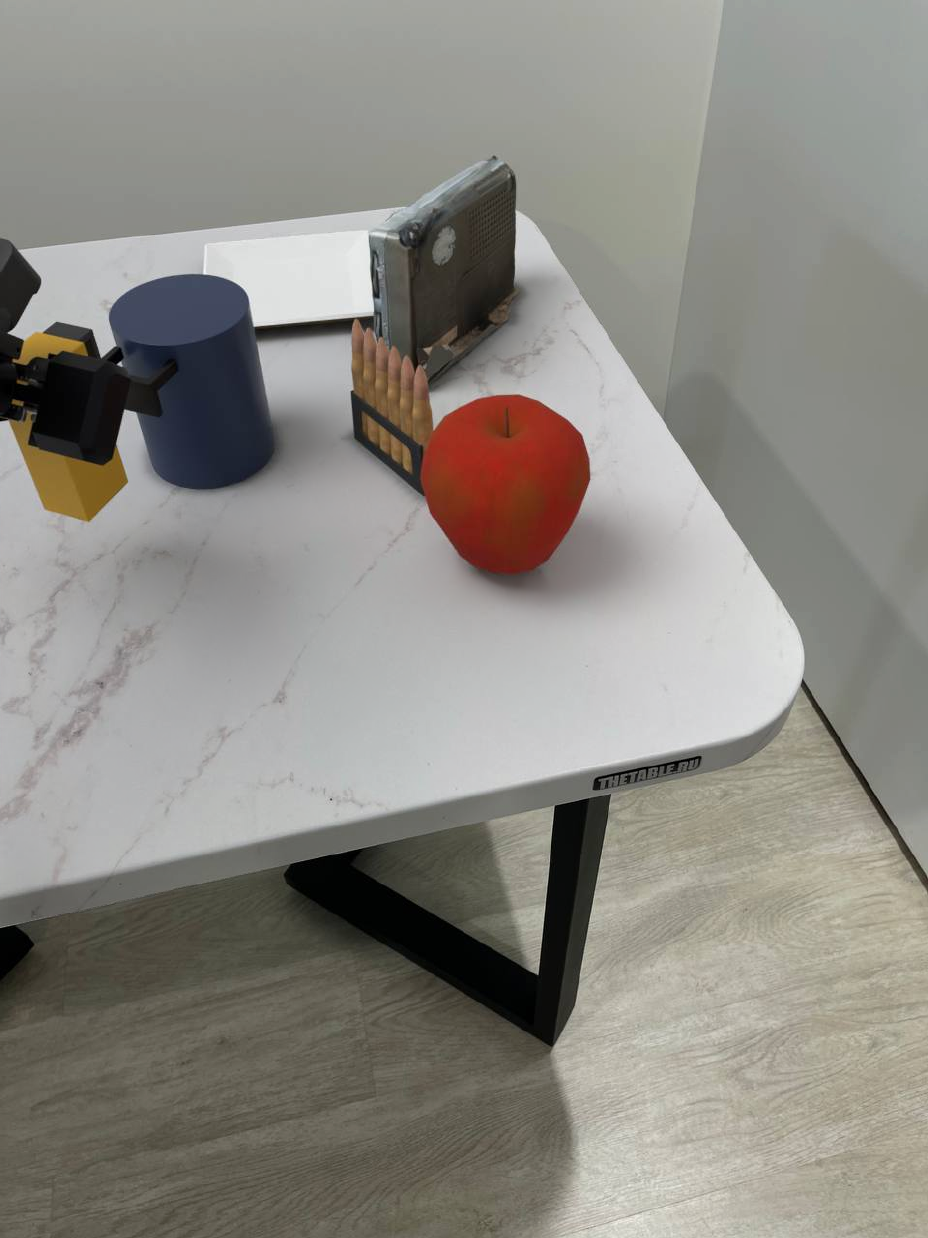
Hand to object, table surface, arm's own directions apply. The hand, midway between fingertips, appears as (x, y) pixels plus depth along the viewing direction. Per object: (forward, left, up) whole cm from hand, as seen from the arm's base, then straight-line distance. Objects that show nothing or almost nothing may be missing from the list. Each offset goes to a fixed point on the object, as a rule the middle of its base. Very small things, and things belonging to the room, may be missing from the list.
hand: (72, 412), depth 72 cm
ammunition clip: (+24, +4, -14) cm, 28 cm away
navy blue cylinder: (+8, +10, -13) cm, 18 cm away
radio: (+35, +24, -14) cm, 44 cm away
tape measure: (-1, -1, -7) cm, 7 cm away
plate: (+21, +36, -14) cm, 44 cm away
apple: (+29, -10, -14) cm, 34 cm away
